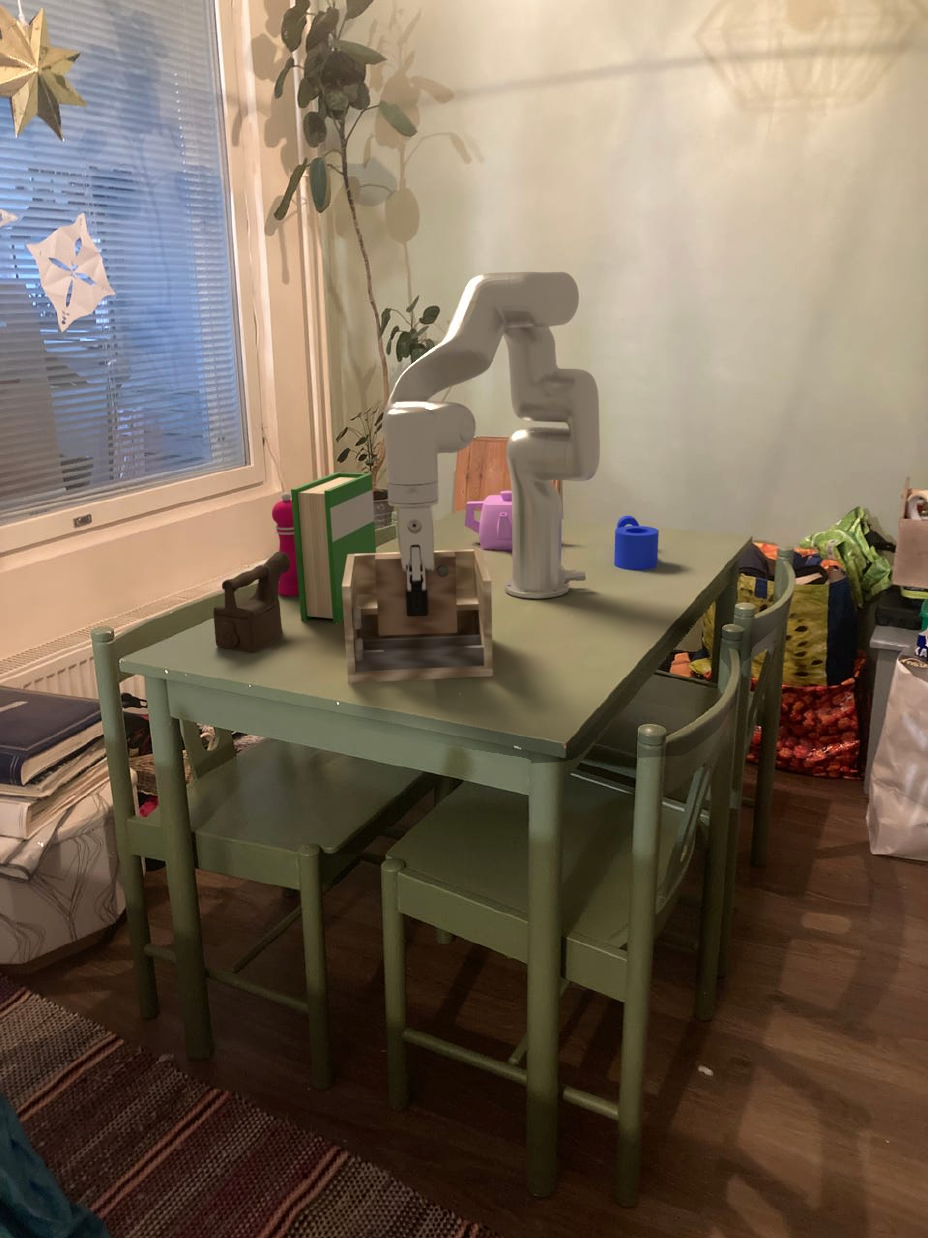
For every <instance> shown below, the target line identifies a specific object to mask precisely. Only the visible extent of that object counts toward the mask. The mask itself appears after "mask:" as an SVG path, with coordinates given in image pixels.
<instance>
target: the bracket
mask: <svg viewBox="0 0 928 1238" xmlns="http://www.w3.org/2000/svg"><path fill="white" fill-rule="evenodd" d="M613 554H614V561H613V562H614V563H613V564H614V565H613V566H615V567H616V568H619V569H621V570H629V571H647V570H653V569H656V568H657V567H658V559H659V557H658V556H659V555H658V554H659V529H657V528H654V527H650V526H645V525H640V524H639V522H638V520H637V519H636V518H635V517H634V516H633V515H624V516H622V517H620V518H619V520H618V521H617V524H616V528H615V530H614V553H613Z"/></svg>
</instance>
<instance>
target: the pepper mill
mask: <svg viewBox="0 0 928 1238" xmlns="http://www.w3.org/2000/svg"><path fill="white" fill-rule="evenodd" d="M281 499H282V500H280V501H278V502H276V503H275V504H274V505H273V507H272V510H271V517H272V520H273V521H274V522H275V523H276V524H277V525H275V529H276V530H275V532H276V534H278V537H279V538H278V539H279V548H278V552H284V553H285V554H286V555H287V556H288V557H289V560H290V568H289V570H288V571H287V572H285V573H282V575H281V577H280V580H279V586H278V595H281V596H286V597H291V596H293V597H295V596H299V586H298V574H297V561H296V548H295V535H294V523H293V510H292V497H291V494H290V492H287V491H285V492H283V493H282V494H281Z"/></svg>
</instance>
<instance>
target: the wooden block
mask: <svg viewBox="0 0 928 1238" xmlns="http://www.w3.org/2000/svg"><path fill="white" fill-rule="evenodd" d="M434 563H435V570H434V571H433V572H431V571H430V570H427V569H426V567H425V582H426V590H427V597H428V615H427V616H413V617H409V616H407V605H406V590H408V588H407V570H406V573H405V572H404V571H403V570H402V565H401V558H400V554H375V568H376V589H377V610H378V630H379V636H383V635H408V634H433V633H457V597H456V556H455V552H434ZM409 570H412V567H409ZM420 570H423V568H422V567H420ZM411 577H412V575H410V578H411ZM421 577H422V575H421Z"/></svg>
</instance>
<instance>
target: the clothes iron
mask: <svg viewBox="0 0 928 1238" xmlns="http://www.w3.org/2000/svg"><path fill="white" fill-rule="evenodd" d="M289 568H290V560H289V557H288V556H287V555H286V554H285V553H284V552H279V551H276V552H275V553H274V554H273V555H272V556H271V557H269V558H268V559H267V560H266V561H265V562H264V564H263V565H262V564H261V565H260V564H258V565H257V566H255V567H254V568H252V569H250V570H246V571H244V572H242V573H239V574H238V575H237V576H235V577H233V578H230V579H226V580H224V581H222V584H221V589H222V590H224V606H221V605H219V606H215V607H213V612H212V613H213V624H214V625H213V627H214V635H215V636H214V638H215V644H216V646H217V647H218V648H224V649H228V650H229V649H231V650H235V649H236V650H237V651H242V652H248V651H249V653H257V652H260V651H261V649H262V650H264V649H265V648H267V647H268V646H271V645H272V644H273V643H275V642H276V641H277V640H279V638H280V637H281V636H282V634H283V626H282V617H281V605H280V599H279V593H278V586H279V582H280V581H279V580H280V577H281V575H282V573H285V572H287V571H288V570H289ZM256 581H257V585H256V590H255V592H254V593H253V595H252V596H251V597H250V598H247V599H245V600H241V601H237V602H236V598H235V597H236V596H235V592H236V591H237V590H238V589H243V588H246V587H248V586H250V585H252V584H253V583H255V582H256ZM236 650H235V651H236ZM259 650H260V651H259Z"/></svg>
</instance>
